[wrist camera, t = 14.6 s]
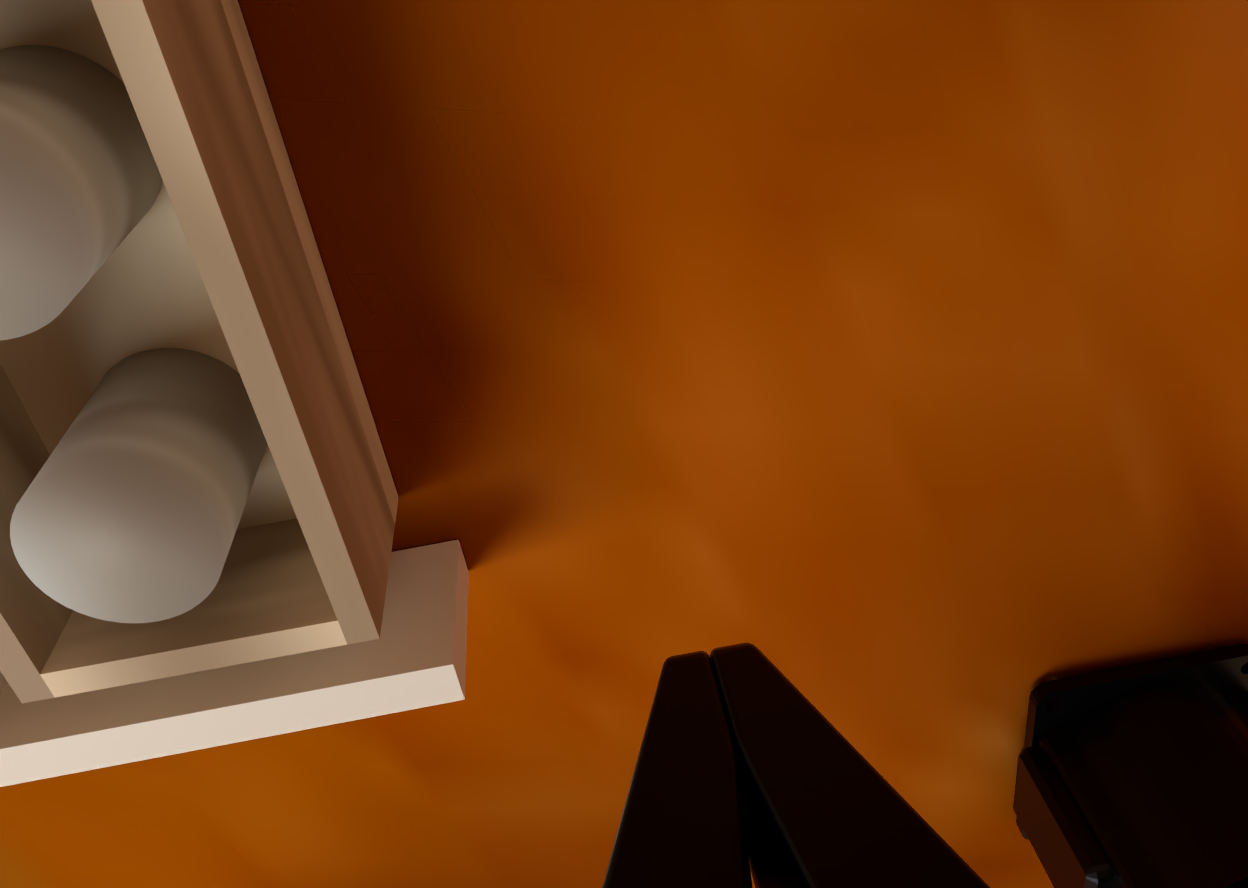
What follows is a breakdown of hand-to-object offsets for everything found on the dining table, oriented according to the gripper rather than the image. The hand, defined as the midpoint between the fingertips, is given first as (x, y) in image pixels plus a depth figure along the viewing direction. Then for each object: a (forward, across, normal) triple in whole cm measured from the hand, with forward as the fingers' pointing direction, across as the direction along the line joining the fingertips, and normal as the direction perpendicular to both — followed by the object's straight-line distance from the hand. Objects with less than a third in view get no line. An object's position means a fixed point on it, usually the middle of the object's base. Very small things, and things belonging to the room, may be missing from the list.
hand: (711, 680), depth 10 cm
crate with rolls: (+12, +9, -1) cm, 15 cm away
